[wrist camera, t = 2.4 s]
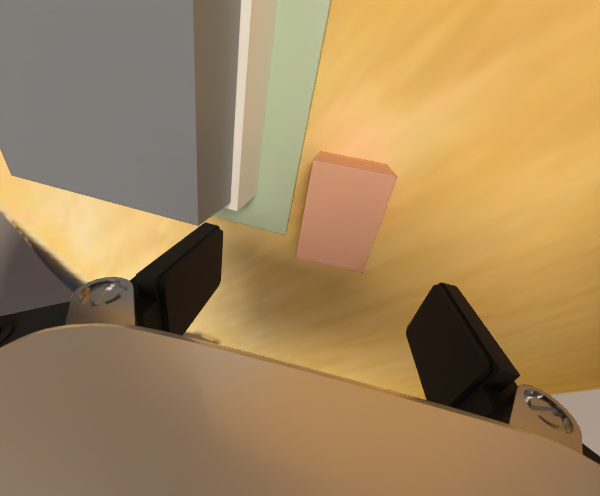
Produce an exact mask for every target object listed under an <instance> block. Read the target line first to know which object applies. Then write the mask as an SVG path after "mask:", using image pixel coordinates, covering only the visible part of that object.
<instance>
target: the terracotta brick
mask: <svg viewBox="0 0 600 496" xmlns="http://www.w3.org/2000/svg"><path fill="white" fill-rule="evenodd" d="M396 179H397V176H396V175H395V173H394V172H393V171H392V170H391V169H390V168H389V166H388V165H387V164H383V163H378V162H373V161H368V160H363V159H358V158H353V157H348V156H342V155H337V154H332V153H327V152H322V151H320V152H319V154H318V155H317V156H316V157H315V158H314V160H313V164H312V169H311V175H310V180H309V186H308V192H307V197H306V203H305V208H304V214H303V220H302V225H301V231H300V236H299V242H298V248H297V253H296V258H300V259H304V260H308V261H313V262H317V263H321V264H325V265H330V266H334V267H338V268H343V269H347V270H351V271H355V272H360V273H362V272H363V270H364V267H365V264H366V261H367V259H368V256H369V253H370V251H371V248H372V245H373V242H374V240H375V237H376V234H377V231H378V229H379V226H380V223H381V220H382V218H383V215H384V212H385V209H386V207H387V204H388V201H389V198H390V196H391V193H392V190H393V188H394V185H395V182H396Z"/></svg>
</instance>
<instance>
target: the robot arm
mask: <svg viewBox="0 0 600 496" xmlns="http://www.w3.org/2000/svg"><path fill="white" fill-rule="evenodd" d="M222 247H223V231H222V230H220V228H219V226H217V225H213V224H209V223H204V224H202V225H201V226H200V227H198V228H197V229H196V230H194V231H193V232H192V233H190V234H189V235H188V236H186V237H185V238H184V239H182V240H181V241H180V242H178V243H177V244H176V245H174V246H173V247H172V248H170V249H169V250H168V251H166V252H165V253H164V254H162V255H161V256H160V257H158V258H157V259H156V260H155V261H153V262H152V263H151V264H149V265H148V266H147V267H145V268H144V269H143V270H141V271H140V272H139V273H137V274H136V276H135V277H134V278H133V279H131V280H130V281H129V280H127V279H124V278H119V277H106V278H101V279H96V280H94V281H91V282H88V283H86V284H84V285H83V286H81V287H79V288H78V289H77V290H76V291H75V292H74V293H73V295H72V297H71V301H70V302H66V303H61V304H56V305H51V306H47V307H42V308H37V309H33V310H28V311H23V312H19V313H15V314H9V315H5V316H0V496H600V457H599V456H598V455H597V454H596V453H594V452H593V451H592V450H590V449H589V448H588V447H587V446H585V445H584V444H583V443H582V435H581V431H580V427H579V426H578V424H577V422H576V421H575V419H574V418H573V417H572V415H571V414H570V413H569V412H568V411H567V410H566V409H565V408H564V407H563V406H562V405H561V404H560V403H559V402H558V401H556V400H555V399H553V398H552V397H551V396H550V395H548V394H547V393H545V392H543V391H542V390H540V389H538V388H536V387H533V386H530V385H525V384H524V385H519V386H517V385H516V383H515V382H514V381H515V380H516V379H517V378H518V377H519V376H520V374H519V373H518V371H517V370H516V369H515V367H514V366H513V364H512V363H511V362H510V360H509V359H508V357H507V356H506V355H505V353H504V352H503V350H502V349H501V348H500V346H499V345H498V343H497V342H496V341H495V339H494V338H493V336H492V335H491V334H490V332H489V331H488V329H487V328H486V327H485V325H484V324H483V322H482V321H481V320H480V318H479V317H478V315H477V314H476V313H475V311H474V310H473V308H472V307H471V306H470V304H469V303H468V302H467V300H466V299H465V297H464V296H463V295H462V293H461V292H460V290H459V289H458V288H457V287H456V286H453V285H449V284H445V283H439V284H438V285H434V286H433V287H432V289H431V290H430V292H429V294H428V295H427V297H426V298H425V300H424V302H423V303H422V305H421V306H420V308H419V310H418V311H417V313H416V314H415V316H414V318H413V319H412V321H411V322H410V324H409V325H408V327H407V330H406V336H407V339H408V342H409V346H410V349H411V352H412V355H413V358H414V361H415V365H416V368H417V371H418V374H419V377H420V380H421V384H422V387H423V390H424V393H425V396H426V399H427V400H423V399H420V398H416V397H413V396H409V395H405V394H402V393H398V392H394V391H391V390H387V389H383V388H380V387H376V386H372V385H369V384H365V383H361V382H358V381H354V380H350V379H346V378H343V377H339V376H335V375H332V374H328V373H324V372H320V371H317V370H313V369H309V368H305V367H302V366H298V365H294V364H290V363H287V362H283V361H279V360H275V359H271V358H268V357H264V356H260V355H256V354H252V353H249V352H245V351H241V350H237V349H233V348H230V347H226V346H222V345H218V344H214V343H210V342H206V341H202V340H198V339H194V338H189V337H186V336H183V334H184V333H185V332H186V330H187V329H188V327H189V326H190V325H191V323H192V322H193V321H194V319H195V318H196V316H197V315H198V314H199V312H200V311H201V310H202V308H203V307H204V305H205V304H206V303H207V301H208V300H209V299H210V297H211V296H212V295H213V293H214V292H215V290H216V289H217V288H218V286H219V284H220V281H221V268H222Z"/></svg>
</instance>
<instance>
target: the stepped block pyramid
mask: <svg viewBox="0 0 600 496" xmlns="http://www.w3.org/2000/svg"><path fill="white" fill-rule="evenodd" d="M331 2H332V0H0V149H1V152H2V154H3V157H4V159H5V161H6V164H7V166H8V168H9V171H10V173H11V175H12V176H16V177H19V178H23V179H27V180H31V181H34V182H38V183H42V184H45V185H49V186H53V187H56V188H60V189H64V190H68V191H71V192H75V193H79V194H82V195H86V196H90V197H93V198H97V199H101V200H105V201H108V202H112V203H116V204H119V205H123V206H127V207H130V208H134V209H138V210H142V211H145V212H149V213H153V214H156V215H160V216H164V217H167V218H171V219H175V220H179V221H182V222H186V223H190V224H193V225H197V226H199V225H200V224H201V223H203V222H204V221H206V220H207V219H208V218H210V217H211V216H215V217H219V218H223V219H226V220H230V221H234V222H238V223H241V224H245V225H249V226H253V227H256V228H260V229H264V230H268V231H271V232H275V233H279V234H283V235H285V234H286V232H287V227H288V222H289V217H290V212H291V207H292V202H293V197H294V192H295V186H296V181H297V176H298V171H299V166H300V161H301V156H302V150H303V145H304V140H305V135H306V130H307V125H308V120H309V115H310V109H311V104H312V99H313V94H314V89H315V84H316V79H317V73H318V68H319V63H320V58H321V53H322V48H323V43H324V37H325V32H326V27H327V22H328V17H329V12H330V7H331Z"/></svg>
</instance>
